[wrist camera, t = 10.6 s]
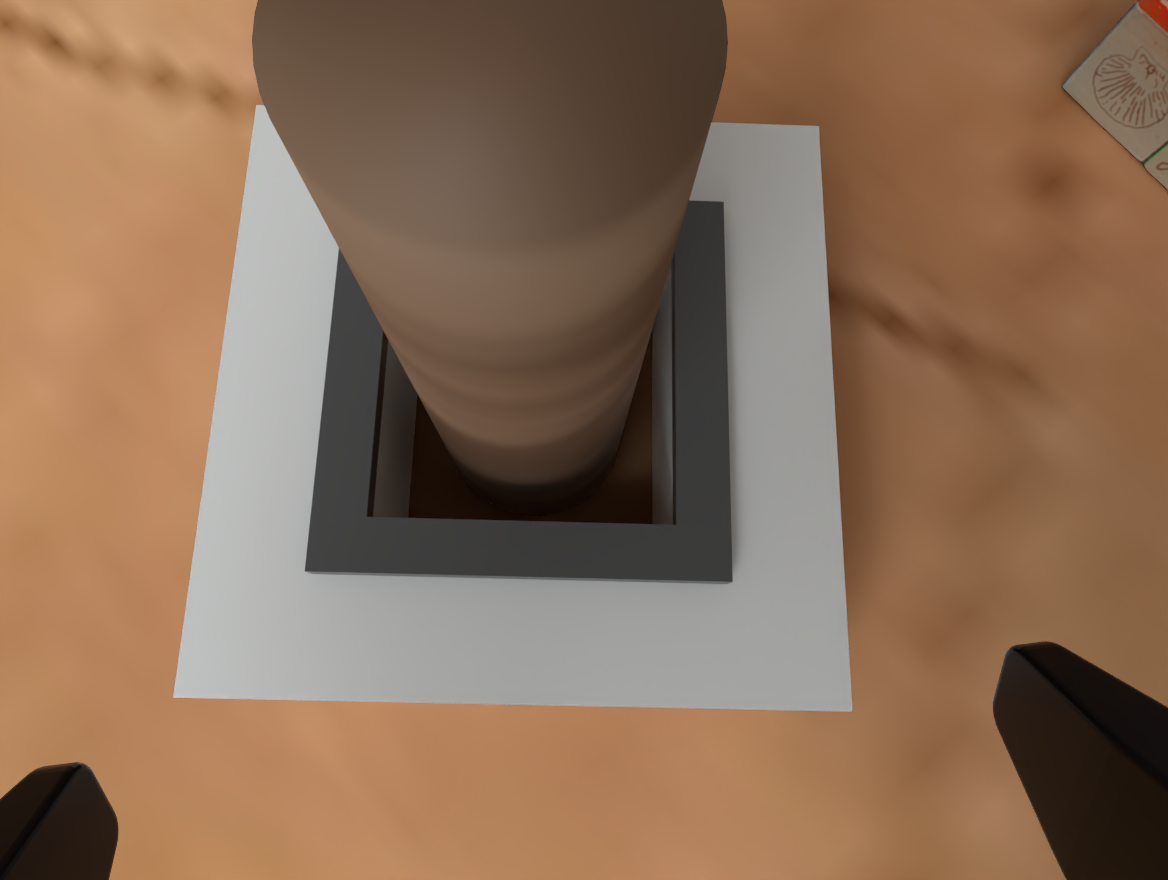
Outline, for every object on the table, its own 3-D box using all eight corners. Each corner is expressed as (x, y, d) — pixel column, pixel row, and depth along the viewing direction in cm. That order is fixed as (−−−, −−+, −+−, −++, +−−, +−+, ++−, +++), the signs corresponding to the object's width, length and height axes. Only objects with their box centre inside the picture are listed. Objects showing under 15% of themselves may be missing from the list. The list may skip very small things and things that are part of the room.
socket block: (797, 701, 18) (862, 713, 14) (246, 689, 18) (160, 699, 14) (777, 210, 21) (826, 111, 17) (305, 194, 21) (248, 89, 17)
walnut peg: (574, 544, 19) (607, 322, 6) (419, 470, 19) (157, 120, 7) (646, 394, 20) (797, -57, 7) (497, 325, 20) (396, -217, 8)
